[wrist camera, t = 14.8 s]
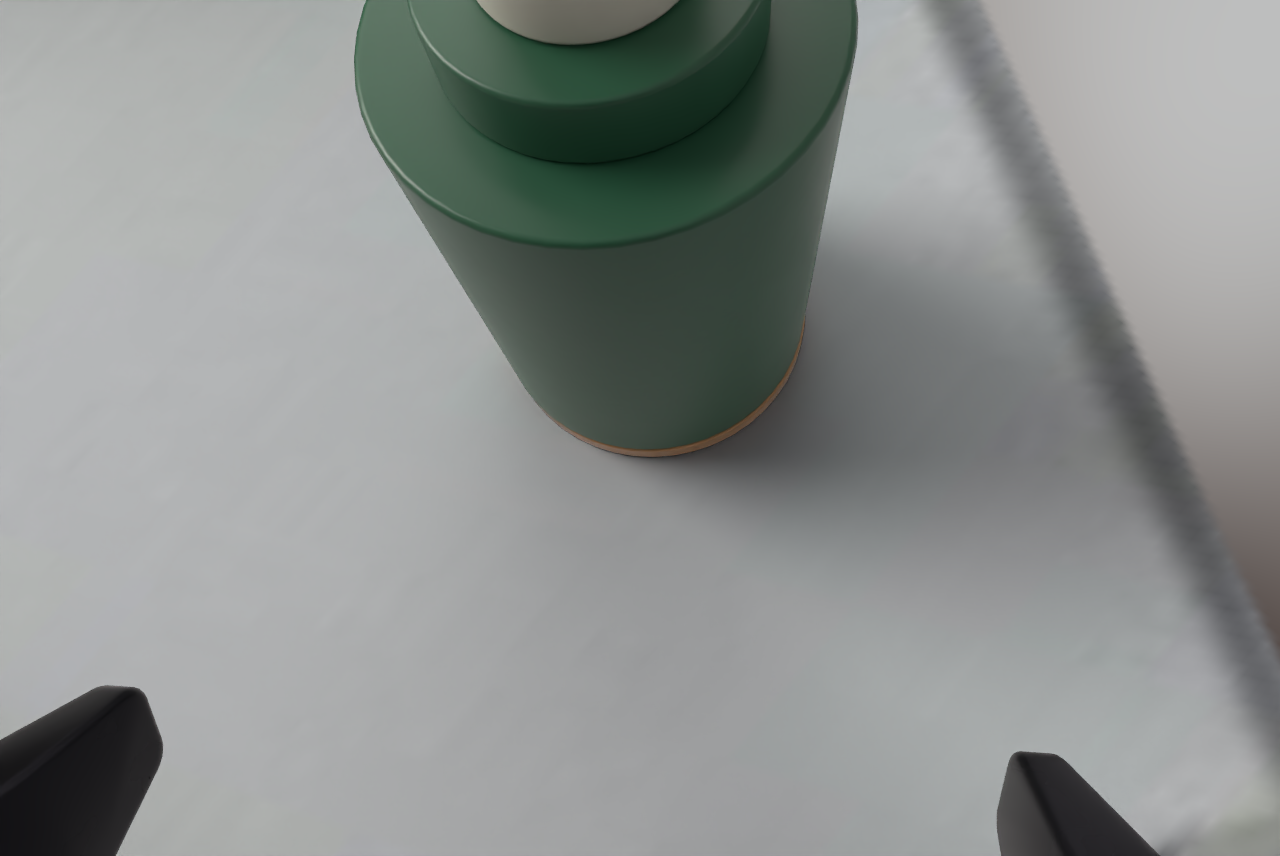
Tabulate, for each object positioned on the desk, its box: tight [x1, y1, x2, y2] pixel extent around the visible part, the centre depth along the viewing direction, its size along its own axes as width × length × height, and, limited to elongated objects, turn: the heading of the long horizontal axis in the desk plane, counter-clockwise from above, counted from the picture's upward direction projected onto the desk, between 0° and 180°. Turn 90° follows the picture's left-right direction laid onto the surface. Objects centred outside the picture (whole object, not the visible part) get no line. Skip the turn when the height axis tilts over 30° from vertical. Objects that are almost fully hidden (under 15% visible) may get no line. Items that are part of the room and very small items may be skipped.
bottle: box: [354, 0, 858, 449], centre depth 12 cm, size 6×6×11 cm
